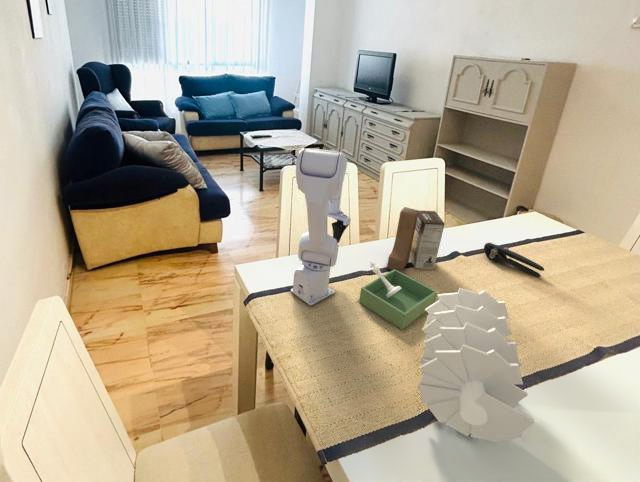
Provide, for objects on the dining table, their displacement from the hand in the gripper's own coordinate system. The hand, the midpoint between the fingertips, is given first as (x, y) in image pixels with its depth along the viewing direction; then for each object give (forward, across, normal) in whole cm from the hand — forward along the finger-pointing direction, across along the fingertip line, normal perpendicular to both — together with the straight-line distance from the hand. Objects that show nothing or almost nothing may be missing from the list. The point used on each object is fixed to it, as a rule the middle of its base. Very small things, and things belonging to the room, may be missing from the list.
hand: (326, 237), depth 115 cm
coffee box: (+10, -17, -27) cm, 33 cm away
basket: (+9, -25, -2) cm, 27 cm away
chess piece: (+7, -24, -2) cm, 25 cm away
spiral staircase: (+10, -49, +12) cm, 51 cm away
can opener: (+10, -36, -49) cm, 61 cm away
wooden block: (+10, -14, -19) cm, 25 cm away
